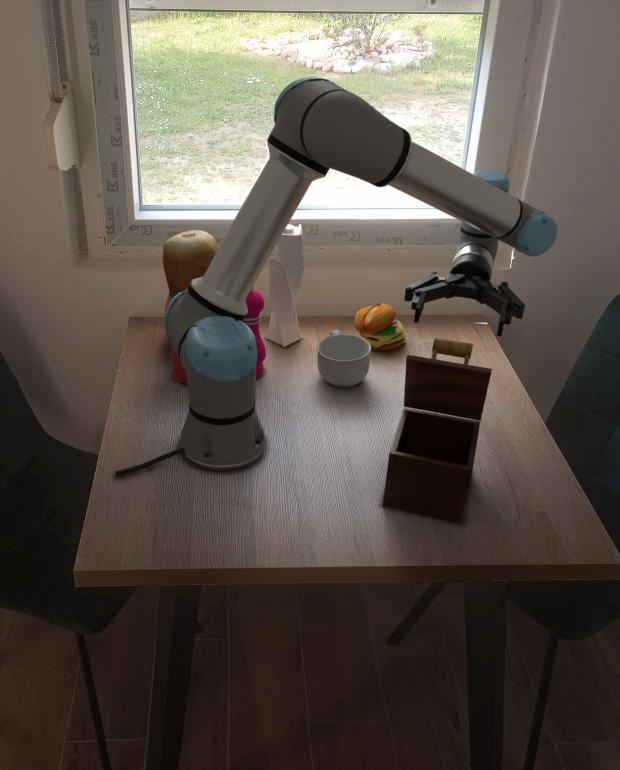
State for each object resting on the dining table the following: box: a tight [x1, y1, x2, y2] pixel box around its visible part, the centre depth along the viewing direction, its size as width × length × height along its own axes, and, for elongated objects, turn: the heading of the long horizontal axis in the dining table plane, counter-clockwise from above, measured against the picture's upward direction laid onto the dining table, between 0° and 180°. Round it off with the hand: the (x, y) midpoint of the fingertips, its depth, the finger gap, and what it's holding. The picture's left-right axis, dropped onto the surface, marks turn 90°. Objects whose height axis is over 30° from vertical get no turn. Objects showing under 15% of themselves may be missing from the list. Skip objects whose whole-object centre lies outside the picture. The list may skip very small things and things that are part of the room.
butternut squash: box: [162, 229, 219, 312], centre depth 170 cm, size 14×13×25 cm
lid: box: [403, 337, 493, 422], centre depth 128 cm, size 15×13×6 cm
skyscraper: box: [266, 223, 305, 348], centre depth 170 cm, size 8×8×28 cm
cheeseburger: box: [354, 302, 407, 351], centre depth 175 cm, size 10×11×10 cm
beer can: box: [171, 346, 188, 384], centre depth 160 cm, size 7×7×12 cm
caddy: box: [382, 406, 481, 525], centre depth 131 cm, size 14×13×11 cm
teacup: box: [316, 329, 372, 388], centre depth 162 cm, size 14×11×8 cm
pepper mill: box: [243, 285, 267, 379], centre depth 160 cm, size 7×7×20 cm
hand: (458, 322), depth 131 cm, fingers open, 13 cm apart
